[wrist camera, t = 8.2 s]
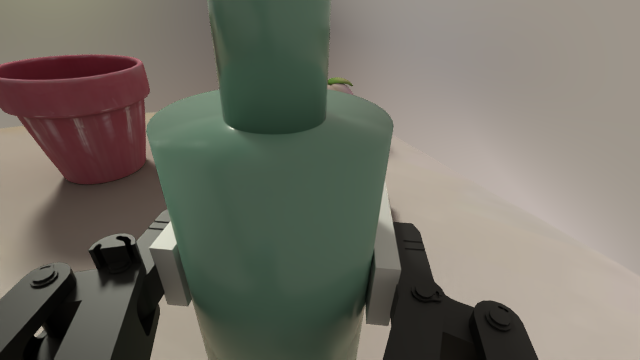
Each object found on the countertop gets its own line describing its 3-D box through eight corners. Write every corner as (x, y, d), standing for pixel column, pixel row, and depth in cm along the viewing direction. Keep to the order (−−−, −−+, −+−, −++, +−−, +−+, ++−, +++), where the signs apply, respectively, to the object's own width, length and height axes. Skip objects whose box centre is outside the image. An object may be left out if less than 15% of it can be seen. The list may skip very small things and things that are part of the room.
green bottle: (196, 445, 13) (-111, -302, 3) (240, 309, 18) (174, -117, 9) (354, 460, 12) (522, -303, 3) (350, 317, 18) (406, -111, 8)
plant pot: (160, 187, 37) (130, 74, 30) (14, 206, 33) (-56, 81, 26) (170, 140, 48) (150, 52, 42) (63, 150, 45) (23, 55, 38)
